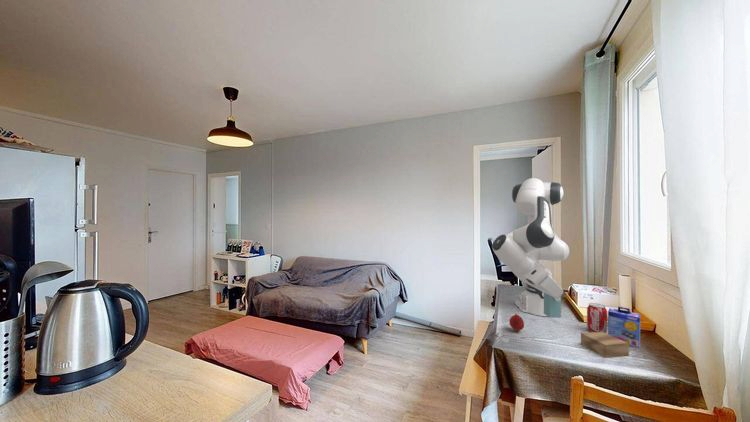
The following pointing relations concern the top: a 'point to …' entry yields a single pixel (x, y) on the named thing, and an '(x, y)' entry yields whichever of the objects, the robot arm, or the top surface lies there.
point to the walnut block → (605, 344)
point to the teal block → (552, 307)
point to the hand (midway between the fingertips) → (554, 297)
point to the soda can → (596, 318)
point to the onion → (516, 322)
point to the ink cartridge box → (624, 325)
